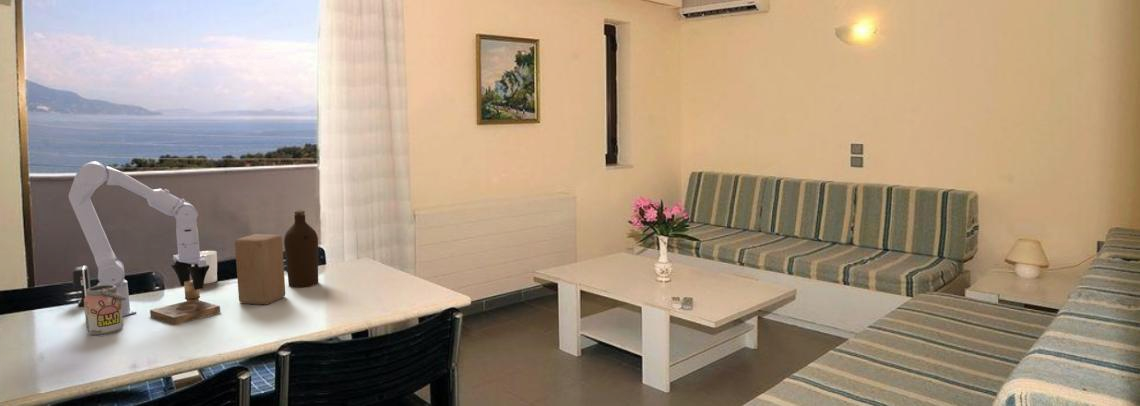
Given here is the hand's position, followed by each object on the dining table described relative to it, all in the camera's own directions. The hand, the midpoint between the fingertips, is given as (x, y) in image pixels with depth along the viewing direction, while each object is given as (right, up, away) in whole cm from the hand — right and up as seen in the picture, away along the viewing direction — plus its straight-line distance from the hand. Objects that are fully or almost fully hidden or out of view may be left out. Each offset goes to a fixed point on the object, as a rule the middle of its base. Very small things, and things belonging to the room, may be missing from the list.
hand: (191, 287), depth 208 cm
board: (+4, -7, -10) cm, 13 cm away
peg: (0, -5, +1) cm, 5 cm away
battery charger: (-33, -5, +1) cm, 34 cm away
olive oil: (+24, -2, +24) cm, 34 cm away
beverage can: (-9, -9, -24) cm, 27 cm away
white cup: (-10, -2, +27) cm, 29 cm away
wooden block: (+19, -5, +5) cm, 21 cm away
